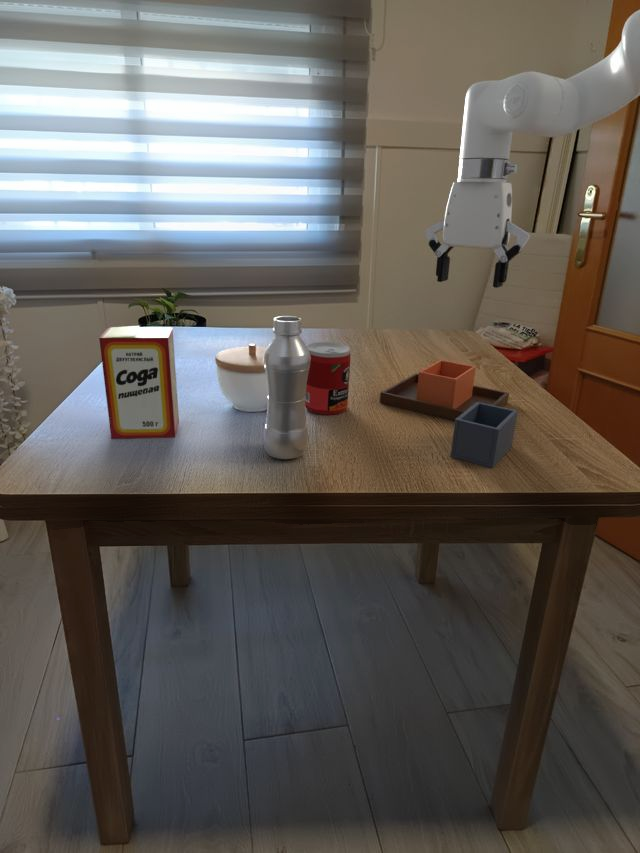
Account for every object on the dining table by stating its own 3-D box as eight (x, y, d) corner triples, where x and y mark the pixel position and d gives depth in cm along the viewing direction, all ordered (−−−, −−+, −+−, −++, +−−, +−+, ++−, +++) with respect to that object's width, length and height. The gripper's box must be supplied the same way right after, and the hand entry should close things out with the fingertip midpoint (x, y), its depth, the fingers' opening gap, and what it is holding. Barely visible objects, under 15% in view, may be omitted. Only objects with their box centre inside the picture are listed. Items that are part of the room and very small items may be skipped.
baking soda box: (178, 421, 94) (172, 325, 88) (175, 437, 88) (167, 335, 82) (119, 422, 93) (108, 325, 87) (111, 438, 87) (98, 335, 81)
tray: (507, 402, 108) (509, 392, 107) (480, 427, 96) (482, 416, 95) (414, 382, 118) (415, 373, 117) (379, 402, 106) (380, 392, 105)
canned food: (335, 418, 98) (338, 356, 93) (295, 409, 101) (296, 348, 97) (355, 405, 104) (358, 346, 100) (317, 397, 107) (319, 339, 103)
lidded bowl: (226, 421, 95) (224, 357, 91) (210, 396, 106) (208, 338, 101) (297, 413, 99) (299, 351, 95) (275, 390, 110) (276, 334, 106)
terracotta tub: (471, 396, 109) (476, 366, 107) (452, 411, 101) (456, 379, 99) (437, 389, 112) (440, 359, 110) (415, 403, 105) (418, 371, 102)
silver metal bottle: (253, 455, 83) (251, 318, 76) (285, 441, 88) (287, 311, 81) (285, 469, 80) (287, 326, 72) (317, 454, 84) (322, 319, 77)
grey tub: (511, 446, 89) (518, 410, 87) (492, 468, 82) (499, 429, 80) (472, 436, 92) (477, 401, 90) (450, 456, 85) (455, 419, 83)
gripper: (544, 173, 89) (527, 286, 95) (440, 173, 97) (430, 276, 104) (532, 171, 83) (514, 291, 89) (421, 171, 92) (412, 281, 98)
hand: (469, 283), depth 97 cm, fingers open, 9 cm apart
